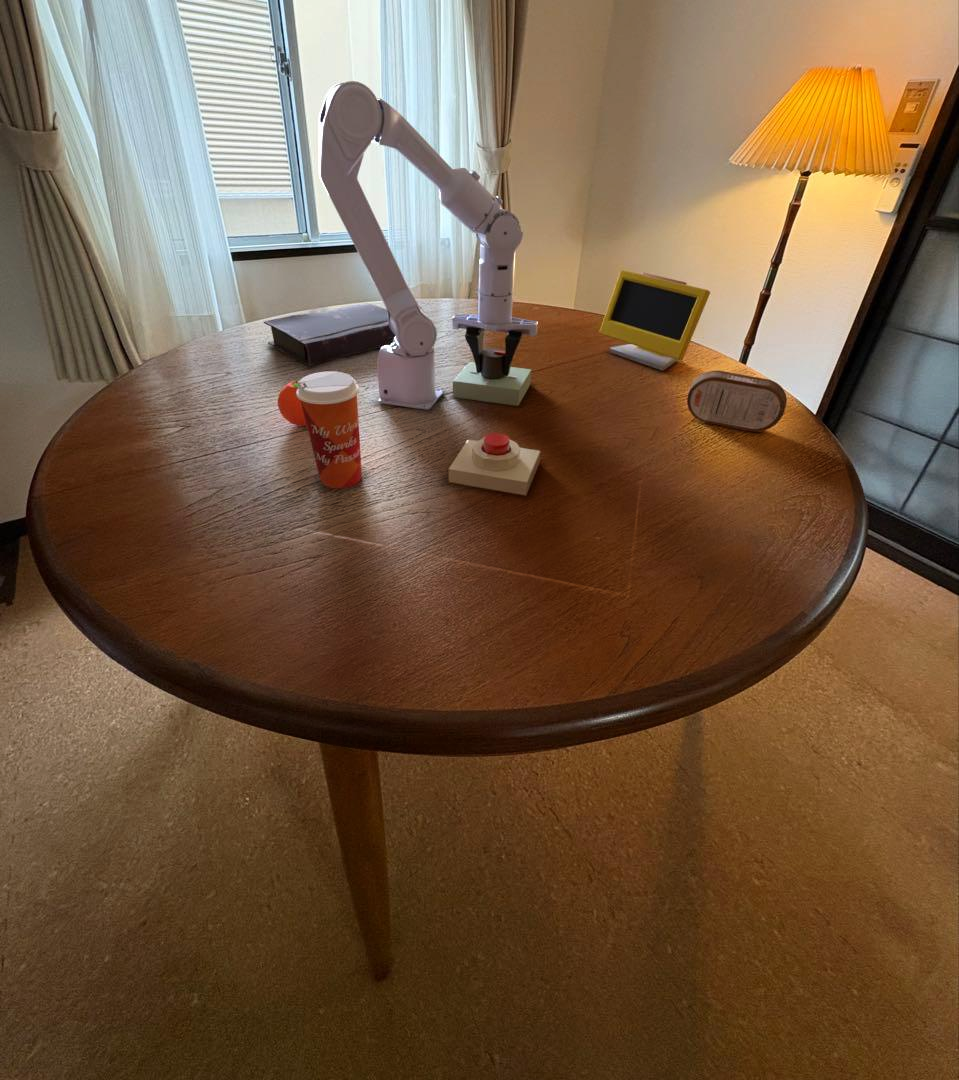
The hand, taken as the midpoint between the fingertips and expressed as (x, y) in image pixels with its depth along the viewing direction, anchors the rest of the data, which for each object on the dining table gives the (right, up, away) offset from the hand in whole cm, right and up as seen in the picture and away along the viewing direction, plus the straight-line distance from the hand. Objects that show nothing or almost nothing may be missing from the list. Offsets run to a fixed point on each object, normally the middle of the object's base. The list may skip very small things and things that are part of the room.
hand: (493, 372), depth 101 cm
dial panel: (0, -3, +2) cm, 3 cm away
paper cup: (-22, -22, -23) cm, 38 cm away
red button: (0, -18, -23) cm, 29 cm away
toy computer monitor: (+32, +8, +17) cm, 38 cm away
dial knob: (0, 0, 0) cm, 0 cm away
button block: (0, -21, -21) cm, 29 cm away
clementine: (-30, -12, -10) cm, 34 cm away
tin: (+39, -11, -7) cm, 41 cm away
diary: (-33, +12, +21) cm, 41 cm away
